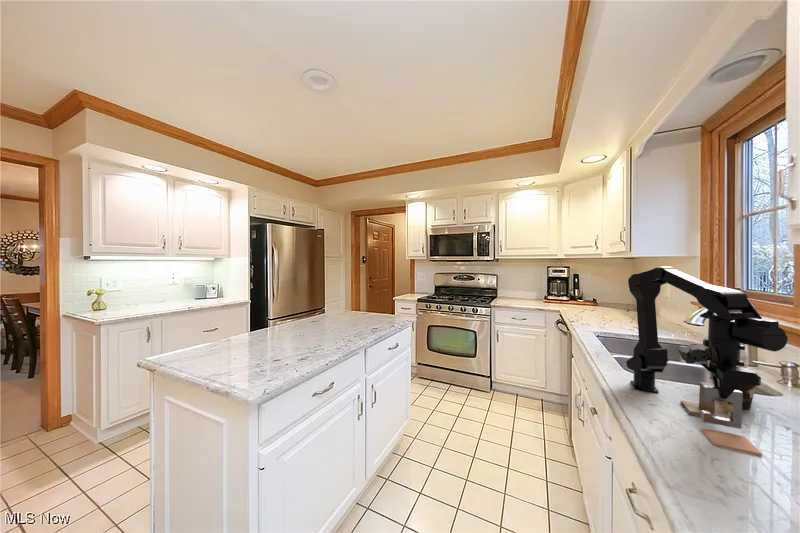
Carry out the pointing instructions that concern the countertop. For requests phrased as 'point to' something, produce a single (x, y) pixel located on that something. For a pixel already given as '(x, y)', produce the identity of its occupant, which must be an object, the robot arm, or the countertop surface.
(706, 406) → the stand
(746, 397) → the coffee mug
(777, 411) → the countertop surface
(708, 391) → the link
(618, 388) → the countertop surface
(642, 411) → the countertop surface
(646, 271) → the robot arm
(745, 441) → the mat
